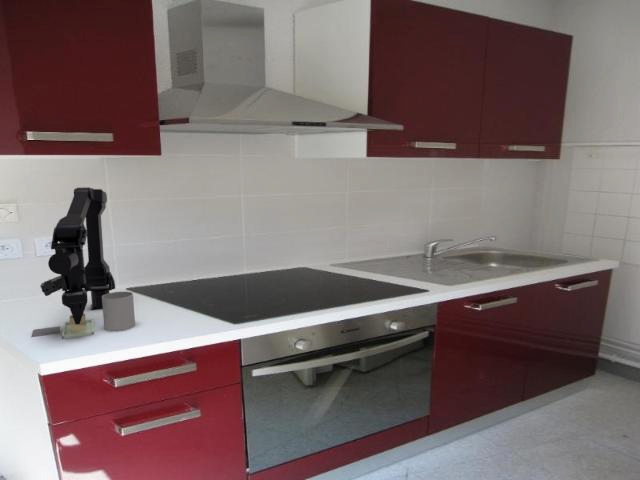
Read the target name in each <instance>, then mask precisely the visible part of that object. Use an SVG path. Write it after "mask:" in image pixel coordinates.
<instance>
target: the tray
mask: <svg viewBox="0 0 640 480" xmlns="http://www.w3.org/2000/svg"><path fill="white" fill-rule="evenodd" d="M93 335H95V321H94V318H91V319H86V331H80V332H73V333H71V329H70V321H67V322H66V321H65V322H63V327H62V334H61V339H62V340H64V339H73V338H78V337H80V338H81V337H86V336H93Z"/></svg>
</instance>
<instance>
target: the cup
mask: <svg viewBox="0 0 640 480" xmlns="http://www.w3.org/2000/svg"><path fill="white" fill-rule="evenodd" d="M134 303H135V301H134V293H133V292H132V291H113V292H110V293H108V294H105V295H103V296H102V305H103V309H102V317H103V327H104V331H107V332H110V333H111V332H112V333H113V332H123V331H128V330H132V329H133V328H135V326H136V315H135V304H134Z"/></svg>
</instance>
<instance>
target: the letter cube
mask: <svg viewBox="0 0 640 480" xmlns="http://www.w3.org/2000/svg"><path fill="white" fill-rule="evenodd" d="M86 320H87V319H86V313H83V316H82V319H81V322H80V324H75V322H74V319H73V316H72V314H71V315H69V322H70V329H71V333H73V332H80V331H86Z"/></svg>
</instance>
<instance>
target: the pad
mask: <svg viewBox="0 0 640 480" xmlns="http://www.w3.org/2000/svg"><path fill="white" fill-rule="evenodd" d="M60 331H61V325H59V326H58V325H57V326H52V327H51V326H50V327H44V328H36V329H33V330H32V333H31V335H30V337H31V338H37V337H43V336H50V335H51V336H52V335H57V334H60Z"/></svg>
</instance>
